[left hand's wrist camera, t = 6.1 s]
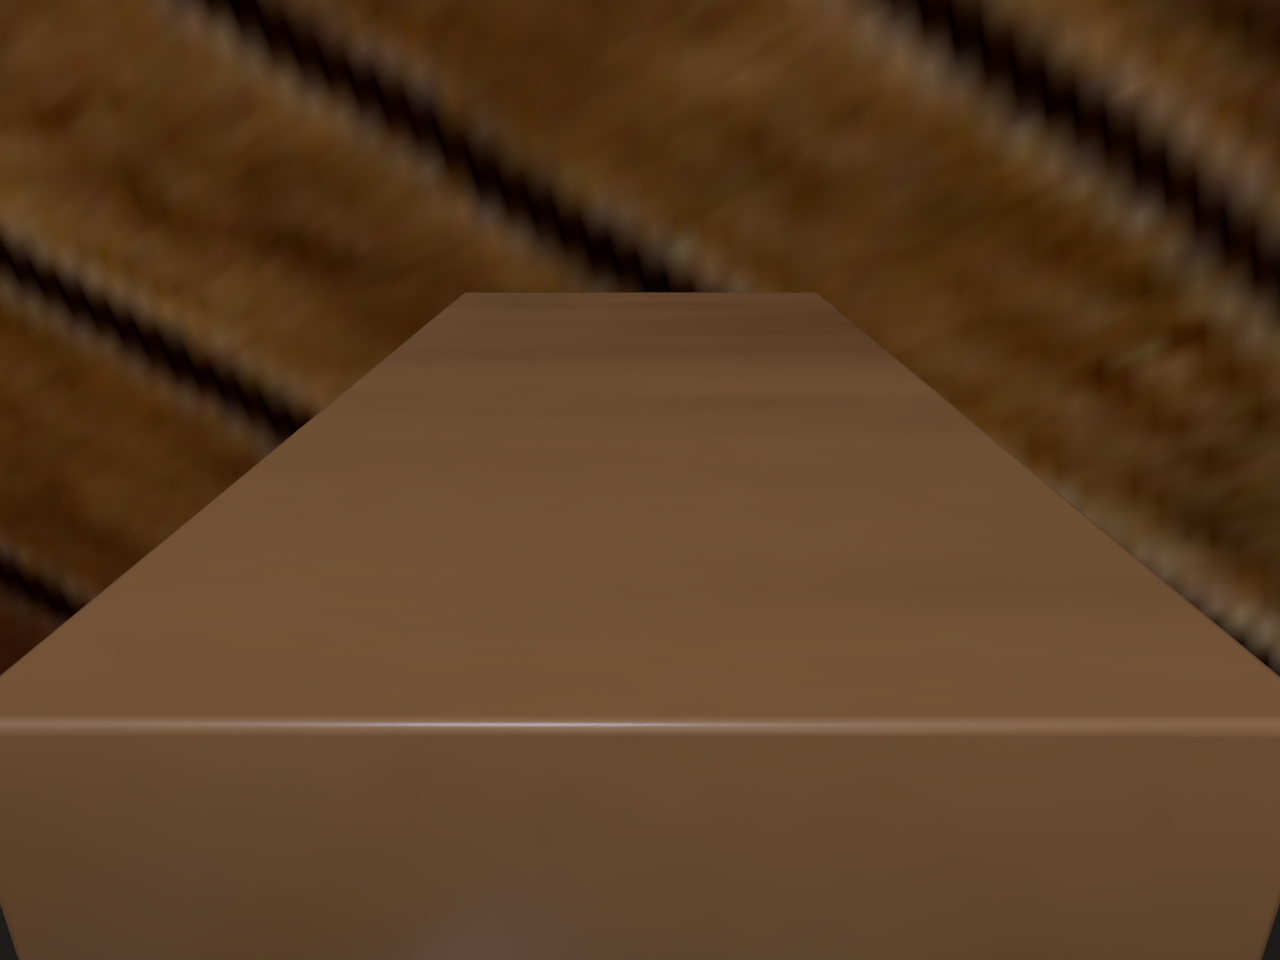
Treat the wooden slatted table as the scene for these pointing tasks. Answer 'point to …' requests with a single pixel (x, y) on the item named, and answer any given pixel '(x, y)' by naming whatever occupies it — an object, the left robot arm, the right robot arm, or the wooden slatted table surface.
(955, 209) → the wooden slatted table surface
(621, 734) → the box
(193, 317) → the wooden slatted table surface
